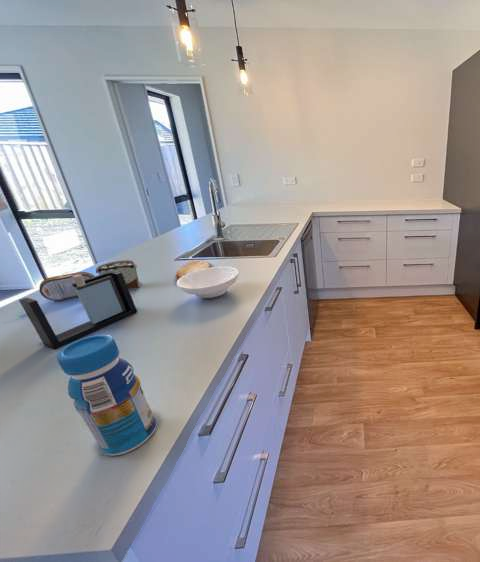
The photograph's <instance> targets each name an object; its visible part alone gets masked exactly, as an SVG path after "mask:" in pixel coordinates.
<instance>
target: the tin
mask: <svg viewBox="0 0 480 562" xmlns="http://www.w3.org/2000/svg"><path fill="white" fill-rule="evenodd" d="M75 275H82V277H83V279H84V280H85V279H88V278H92V277H95V276H96V275H94V274H92V272H91V273H90V272H88V271H77V272H72V273H66V274H61V275H55V276H50V277H47V278H45V279H43V280H42V281H41V283H39V293H40V295H41V297H43V298H45V299H46V300H49V301H63V300H68V299H72V298H77V297H78V295H77V293H76V291H75V288H74V287H73V286H72V284H73V283H75V281H74V278H73V276H75Z"/></svg>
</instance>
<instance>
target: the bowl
mask: <svg viewBox="0 0 480 562" xmlns="http://www.w3.org/2000/svg"><path fill="white" fill-rule="evenodd" d="M238 278H239V270H238V269H237V268H235V267H231V266H211V268H205V269H201V270H197V271H194V272H191V273H188V274H186V275H184V276H182V277H181V278H180V279H179V280H176V286H177V287H178V288H179V289H180V290H181V291H182V292H184V293H185V294H189V295H195V296H196V297H198V298H200V299H213V298H218V297H219V296H222V295H224V294H225V293H227V292H228V290H229V288H230V287H231V286H233V285H234V284H235V283H236V282H237V280H238Z"/></svg>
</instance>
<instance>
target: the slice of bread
mask: <svg viewBox="0 0 480 562" xmlns="http://www.w3.org/2000/svg"><path fill="white" fill-rule="evenodd" d="M211 267H212V266H211V264H210V263H209V262H208V261H204V260H190V261H188V262H187V263H185V264H183V265H181V266H180V267H179V269H178V270H177V271H176V274H175V278H176V281H178V280H179V279H180V278H181V277H182V276H184V275H186V274H188V273H191V272H194V271H197V270H201V269H205V268H211Z"/></svg>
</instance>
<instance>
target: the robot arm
mask: <svg viewBox="0 0 480 562" xmlns="http://www.w3.org/2000/svg"><path fill="white" fill-rule="evenodd" d="M8 209H9V205H7V203H5V199H4V197H3V195H2V193H1V192H0V212H2V211H4V210H8Z"/></svg>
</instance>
